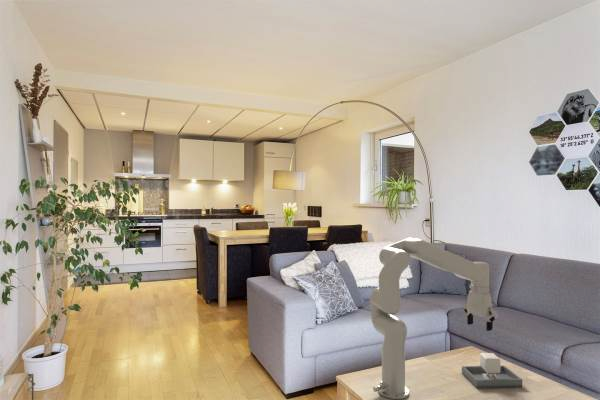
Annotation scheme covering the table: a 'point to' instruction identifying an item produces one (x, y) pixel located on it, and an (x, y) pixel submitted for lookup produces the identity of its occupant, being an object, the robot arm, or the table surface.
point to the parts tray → (505, 379)
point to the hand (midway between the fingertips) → (479, 327)
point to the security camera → (490, 365)
